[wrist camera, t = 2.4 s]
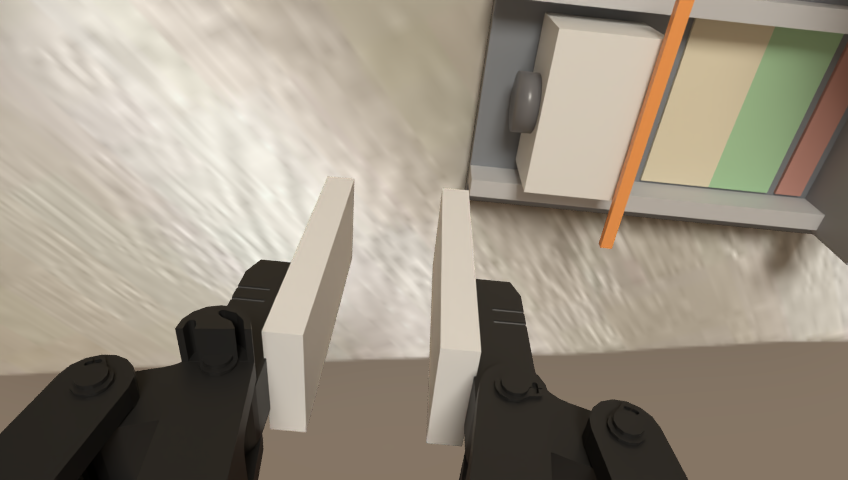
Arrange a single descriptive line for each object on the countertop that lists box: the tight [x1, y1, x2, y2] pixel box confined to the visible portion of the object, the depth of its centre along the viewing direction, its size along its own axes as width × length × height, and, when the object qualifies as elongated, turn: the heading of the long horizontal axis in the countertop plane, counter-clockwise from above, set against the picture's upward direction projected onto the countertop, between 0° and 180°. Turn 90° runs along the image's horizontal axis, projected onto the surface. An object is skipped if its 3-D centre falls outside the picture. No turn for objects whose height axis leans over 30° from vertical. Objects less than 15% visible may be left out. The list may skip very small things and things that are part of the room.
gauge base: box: [465, 0, 848, 265], centre depth 28 cm, size 22×14×6 cm, turn 85°
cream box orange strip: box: [509, 0, 695, 249], centre depth 27 cm, size 6×13×5 cm, turn 175°
